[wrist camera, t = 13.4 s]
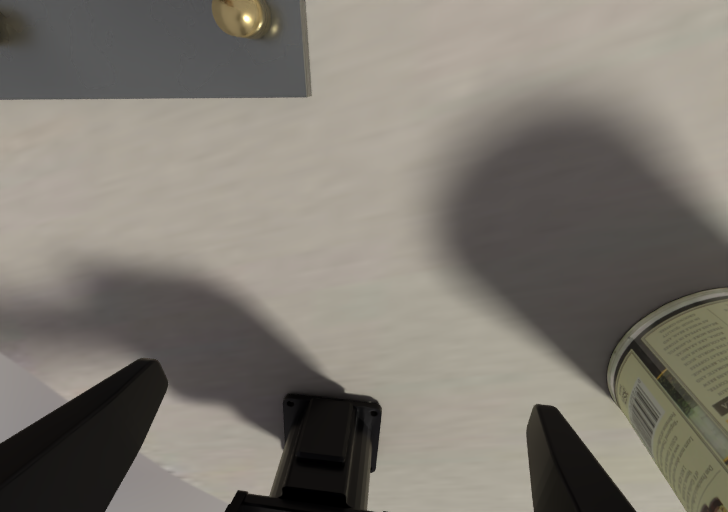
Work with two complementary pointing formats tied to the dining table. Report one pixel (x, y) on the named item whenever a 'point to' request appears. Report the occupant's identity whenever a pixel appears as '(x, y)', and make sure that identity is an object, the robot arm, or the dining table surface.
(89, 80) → the base plate
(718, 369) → the coffee can
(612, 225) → the dining table surface
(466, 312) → the dining table surface
